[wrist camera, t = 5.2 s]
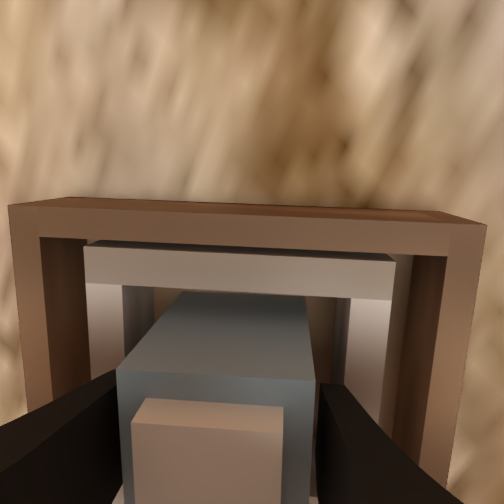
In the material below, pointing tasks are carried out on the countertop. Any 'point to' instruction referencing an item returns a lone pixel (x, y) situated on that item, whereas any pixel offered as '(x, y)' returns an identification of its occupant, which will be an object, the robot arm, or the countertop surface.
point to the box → (264, 283)
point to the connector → (219, 403)
